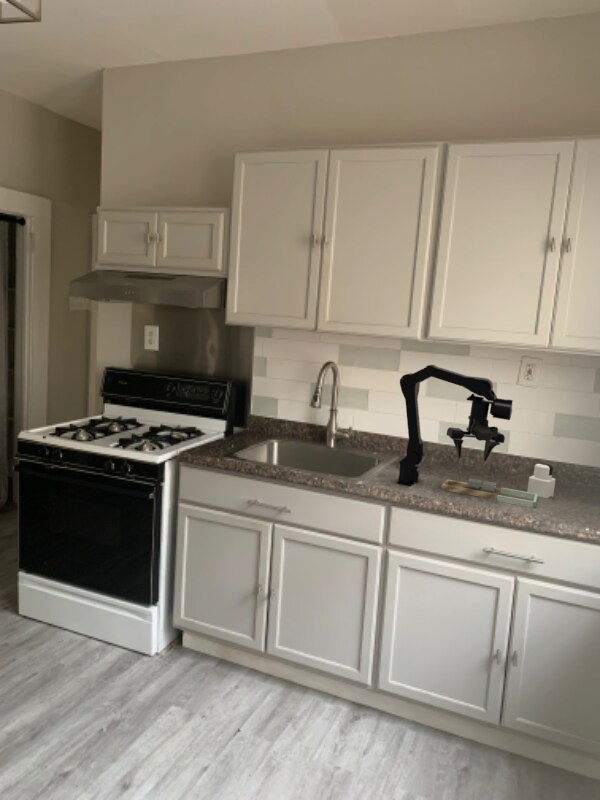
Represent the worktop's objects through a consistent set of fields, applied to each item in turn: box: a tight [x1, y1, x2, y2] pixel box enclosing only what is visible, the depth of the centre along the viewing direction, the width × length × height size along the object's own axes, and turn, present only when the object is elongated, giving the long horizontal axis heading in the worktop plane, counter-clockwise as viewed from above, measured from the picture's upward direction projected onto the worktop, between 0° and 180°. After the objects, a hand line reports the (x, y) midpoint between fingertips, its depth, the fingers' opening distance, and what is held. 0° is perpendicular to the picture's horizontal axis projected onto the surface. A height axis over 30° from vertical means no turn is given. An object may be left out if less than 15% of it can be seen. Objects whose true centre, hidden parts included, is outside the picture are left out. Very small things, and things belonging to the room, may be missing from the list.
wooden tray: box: [441, 479, 500, 501], centre depth 218 cm, size 18×9×3 cm, turn 66°
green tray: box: [496, 487, 539, 509], centre depth 212 cm, size 12×12×3 cm
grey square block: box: [481, 480, 497, 493], centre depth 215 cm, size 4×4×4 cm
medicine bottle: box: [526, 462, 556, 499], centre depth 221 cm, size 7×7×12 cm
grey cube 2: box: [467, 478, 482, 491], centre depth 217 cm, size 4×4×4 cm
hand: (471, 459), depth 216 cm, fingers open, 9 cm apart
